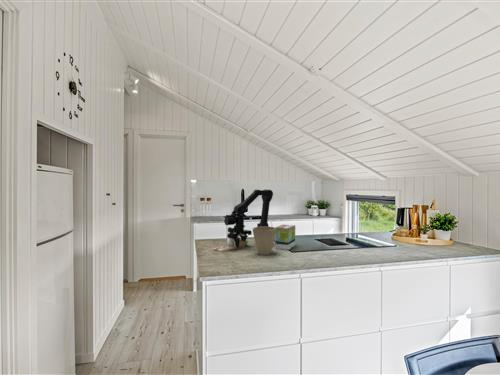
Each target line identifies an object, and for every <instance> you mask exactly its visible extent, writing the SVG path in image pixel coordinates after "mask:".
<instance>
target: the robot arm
mask: <svg viewBox="0 0 500 375" xmlns="http://www.w3.org/2000/svg"><path fill="white" fill-rule="evenodd" d="M259 196H261V199H262V206H261V207H262V208H261V217H260V221H259V222H258V223H257V224H256V225H257V226H256V227H270V226H269V224H268V223H269V222H268V218H269V211H270V202H272V199H273V196H274V192H273V190H271V189H263V190H261V189H254V190H253V192H252V193H250V195H249V196H247V197H246V198H245V199H244V200H243V201H242V202H239V203H238V204H237V205H235V206H234V207H233V211H232V212H231V214H225V217H224V225H225V226H233V225H234V226H233V227H228V228H227V235H226V238H232V239H234V245H235V244H236V247H238V246H239V241H240V238H239V237H238V236H240V237H241V240H243V241H244V242H245V241H246V239H247V238H248V237H249V236H252V235H253V231H251V230H250V229H249V230H248V229H245V227H246V225H245V221H244V220H245V218H247V215H246V214H245V212H246V211H247V209H248V207H249V206H250V205H251V204H252V203H253V202H254V201H255V200H256V199H257V198H258V197H259ZM228 233H229V234H228ZM247 240H248V239H247Z"/></svg>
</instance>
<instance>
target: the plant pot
mask: <svg viewBox="0 0 500 375" xmlns="http://www.w3.org/2000/svg"><path fill="white" fill-rule="evenodd" d="M275 234H276V228H275V227H274V226H269V227H257V226H255V227H253V228H252V235H253V239H254V242H255V245H256V248H257V252H258V254H259V255H263V256H265V255H271V254H272V252H273V251H272V250H273V247H274V245H275Z"/></svg>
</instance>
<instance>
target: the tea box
mask: <svg viewBox="0 0 500 375" xmlns="http://www.w3.org/2000/svg"><path fill="white" fill-rule="evenodd" d="M275 228H276V234H275V240H274V247H275V249H276V250H285V251H289V250H291V249H292V248H294V247H295V246H296V225H295V224H294V225H293V224H280V225H278V226H276V227H275Z"/></svg>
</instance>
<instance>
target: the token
mask: <svg viewBox="0 0 500 375" xmlns="http://www.w3.org/2000/svg"><path fill="white" fill-rule="evenodd" d="M245 246H246V245H245V242H244V241H243V240H240V241H239V246H238V247H236V244H235V243H234V247H235V249H237V250H242V249H245Z"/></svg>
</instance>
